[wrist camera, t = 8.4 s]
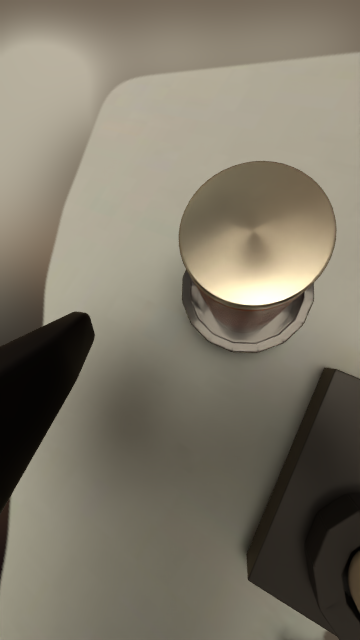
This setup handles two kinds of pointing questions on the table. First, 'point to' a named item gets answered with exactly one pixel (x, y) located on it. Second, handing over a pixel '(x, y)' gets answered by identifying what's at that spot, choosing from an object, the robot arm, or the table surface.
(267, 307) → the orange metal cylinder
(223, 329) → the capsule holder
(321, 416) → the plate with ring holder
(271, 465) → the table surface
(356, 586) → the release button
